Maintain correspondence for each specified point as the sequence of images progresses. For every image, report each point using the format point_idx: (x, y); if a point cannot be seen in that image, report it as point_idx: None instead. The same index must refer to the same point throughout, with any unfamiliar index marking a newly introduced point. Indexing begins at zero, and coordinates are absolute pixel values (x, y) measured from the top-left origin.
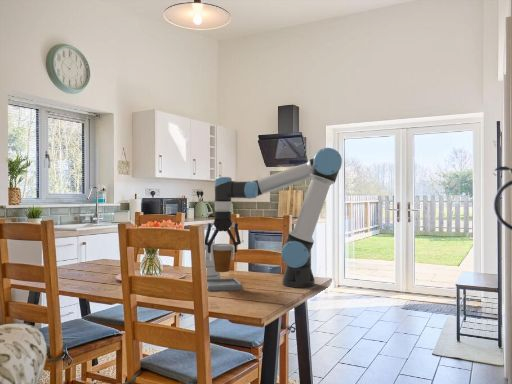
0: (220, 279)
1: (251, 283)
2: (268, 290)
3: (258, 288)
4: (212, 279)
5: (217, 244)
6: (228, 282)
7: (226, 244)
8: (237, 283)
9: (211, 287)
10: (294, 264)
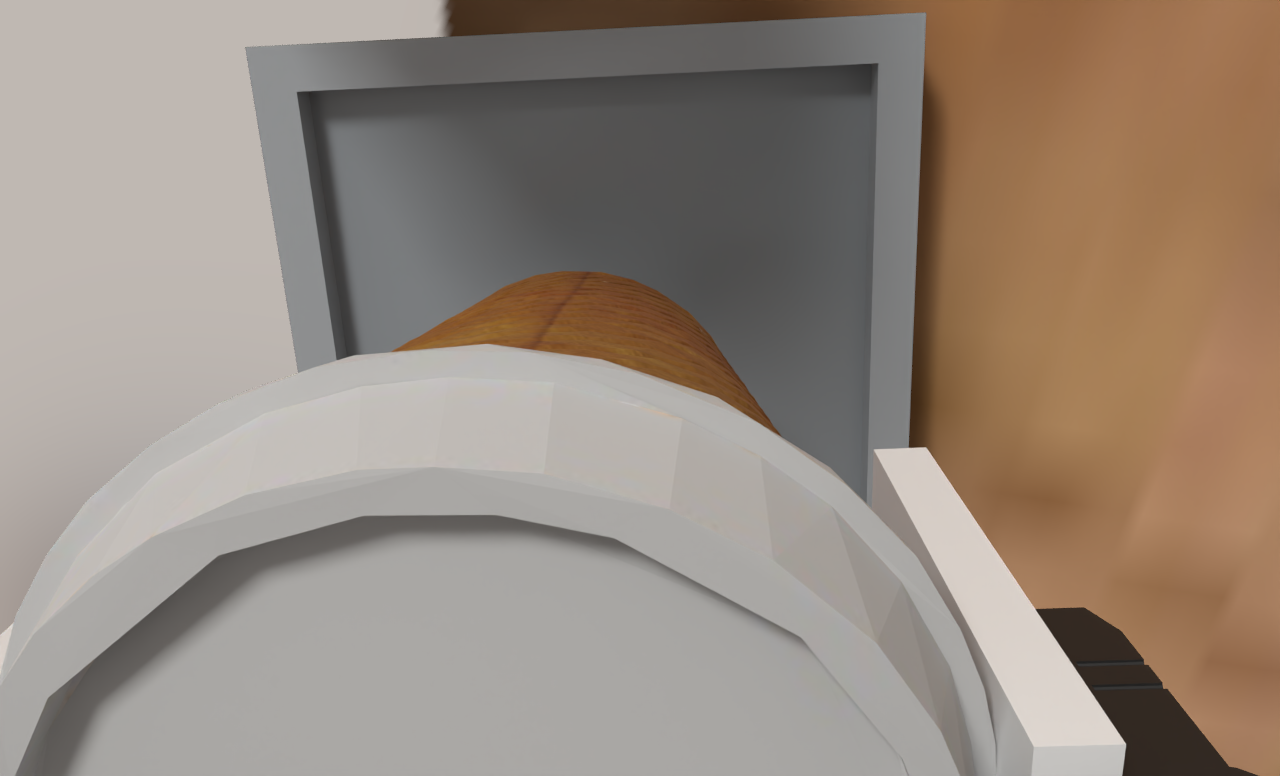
0: (596, 76)
1: (1205, 106)
2: (1260, 685)
3: (1167, 536)
4: (428, 84)
5: (211, 552)
6: (731, 269)
7: (760, 594)
8: (864, 453)
9: None
10: None
